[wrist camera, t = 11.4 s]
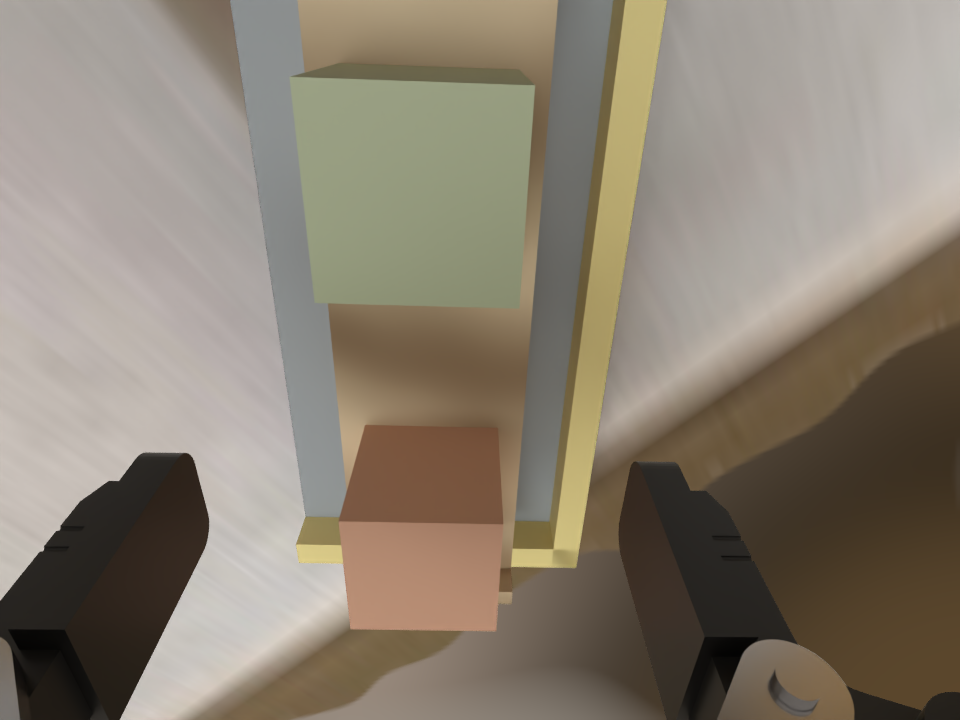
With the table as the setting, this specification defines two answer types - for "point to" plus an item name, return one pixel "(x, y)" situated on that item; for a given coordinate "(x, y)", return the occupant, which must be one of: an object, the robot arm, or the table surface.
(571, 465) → the dock
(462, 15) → the tray
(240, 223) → the table surface
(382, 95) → the block
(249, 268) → the table surface
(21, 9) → the table surface
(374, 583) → the block
